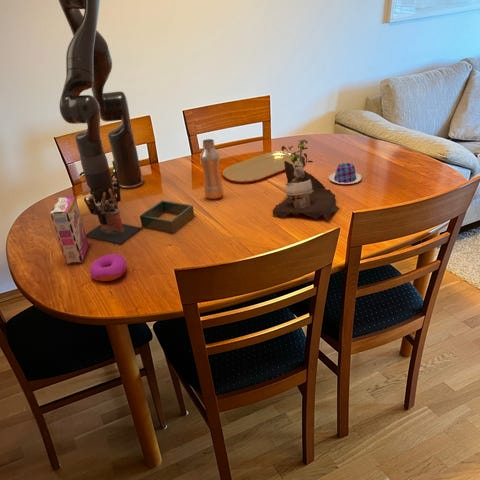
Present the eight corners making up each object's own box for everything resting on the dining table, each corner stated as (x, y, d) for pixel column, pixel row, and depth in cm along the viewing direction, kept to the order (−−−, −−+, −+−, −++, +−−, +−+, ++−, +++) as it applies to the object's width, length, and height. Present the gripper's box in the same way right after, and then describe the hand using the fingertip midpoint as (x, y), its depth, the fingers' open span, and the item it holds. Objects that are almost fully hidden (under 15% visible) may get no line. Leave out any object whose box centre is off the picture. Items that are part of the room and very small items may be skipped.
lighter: (126, 230, 150) (119, 201, 143) (121, 235, 147) (113, 206, 141) (105, 227, 152) (97, 199, 146) (99, 232, 149) (91, 204, 143)
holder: (142, 226, 152) (139, 215, 149) (164, 210, 160) (162, 200, 158) (173, 233, 147) (171, 221, 144) (194, 216, 155) (192, 205, 152)
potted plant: (272, 225, 151) (262, 145, 142) (287, 214, 167) (279, 141, 158) (333, 220, 143) (326, 135, 134) (342, 209, 160) (337, 132, 150)
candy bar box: (83, 263, 136) (67, 211, 126) (66, 264, 136) (48, 213, 125) (90, 244, 145) (75, 195, 134) (74, 246, 144) (57, 196, 134)
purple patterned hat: (351, 171, 176) (352, 157, 173) (367, 182, 167) (369, 167, 164) (323, 176, 174) (323, 163, 171) (338, 188, 165) (339, 174, 162)
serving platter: (310, 162, 186) (310, 158, 185) (242, 188, 170) (242, 184, 169) (279, 152, 198) (279, 148, 197) (213, 175, 182) (213, 171, 181)
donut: (102, 263, 135) (98, 250, 132) (134, 265, 133) (131, 251, 130) (86, 283, 127) (82, 269, 124) (121, 285, 125) (117, 271, 122)
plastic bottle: (221, 201, 163) (215, 144, 150) (203, 200, 164) (195, 144, 152) (225, 193, 168) (220, 137, 155) (207, 193, 169) (201, 137, 157)
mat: (84, 236, 149) (84, 235, 149) (106, 221, 156) (106, 220, 156) (120, 244, 143) (120, 243, 143) (141, 228, 150) (141, 227, 150)
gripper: (102, 158, 143) (115, 209, 153) (69, 175, 133) (85, 228, 144) (121, 161, 140) (133, 212, 150) (89, 178, 130) (104, 232, 141)
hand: (110, 220), depth 147 cm, fingers open, 5 cm apart
